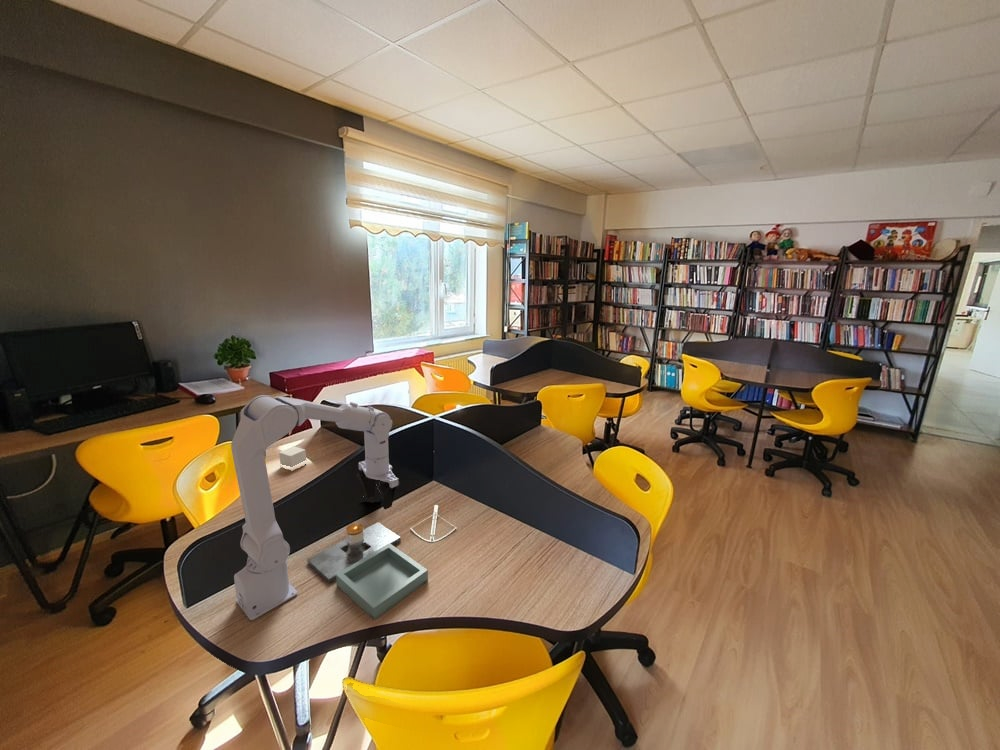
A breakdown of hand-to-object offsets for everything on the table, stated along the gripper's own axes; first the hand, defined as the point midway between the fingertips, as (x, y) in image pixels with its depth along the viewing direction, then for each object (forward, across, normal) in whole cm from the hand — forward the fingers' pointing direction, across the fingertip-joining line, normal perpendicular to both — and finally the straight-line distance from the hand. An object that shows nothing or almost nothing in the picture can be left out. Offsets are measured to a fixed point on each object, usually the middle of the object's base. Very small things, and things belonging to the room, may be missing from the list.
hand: (379, 502), depth 107 cm
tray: (+10, -15, +10) cm, 21 cm away
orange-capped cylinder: (+10, -1, +8) cm, 13 cm away
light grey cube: (+10, +56, -3) cm, 57 cm away
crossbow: (+11, -7, -13) cm, 18 cm away
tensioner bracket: (+10, -1, +8) cm, 13 cm away
